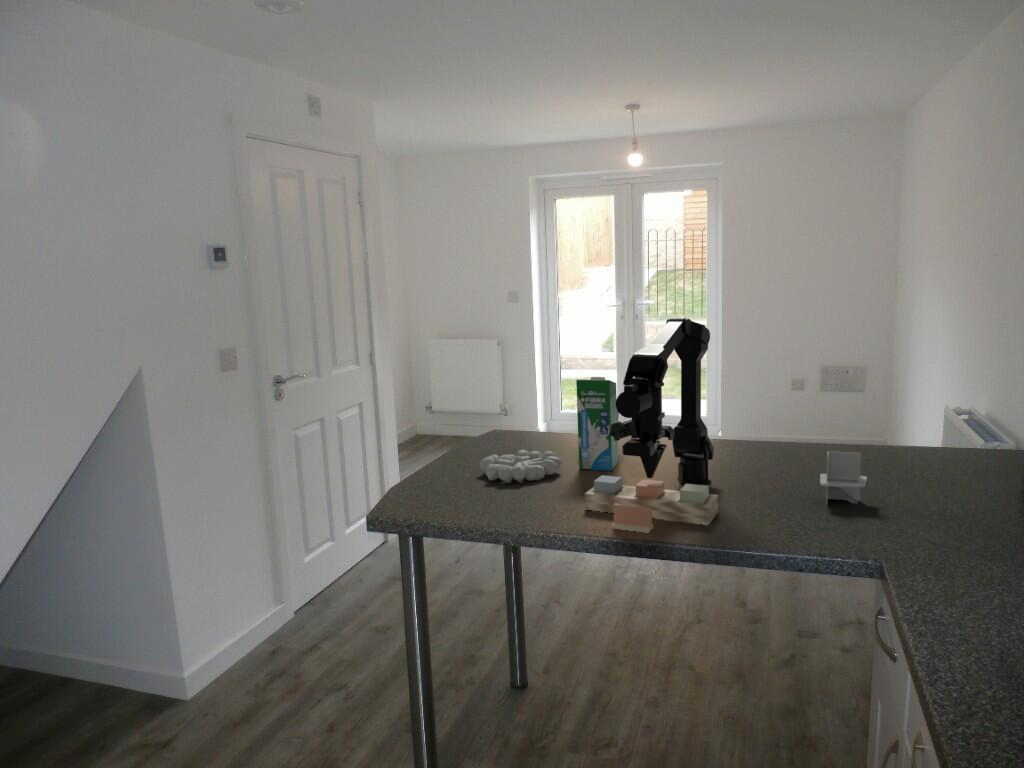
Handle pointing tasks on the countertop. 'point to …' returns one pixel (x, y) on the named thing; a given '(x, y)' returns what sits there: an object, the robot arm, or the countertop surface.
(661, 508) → the button panel
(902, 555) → the countertop surface
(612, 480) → the slate button
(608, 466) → the milk carton
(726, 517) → the countertop surface
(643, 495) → the terracotta button
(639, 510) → the terracotta sign
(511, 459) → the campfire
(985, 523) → the countertop surface
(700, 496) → the sage button
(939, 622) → the countertop surface
